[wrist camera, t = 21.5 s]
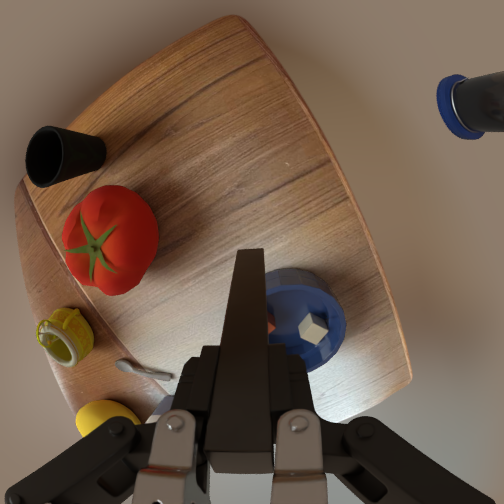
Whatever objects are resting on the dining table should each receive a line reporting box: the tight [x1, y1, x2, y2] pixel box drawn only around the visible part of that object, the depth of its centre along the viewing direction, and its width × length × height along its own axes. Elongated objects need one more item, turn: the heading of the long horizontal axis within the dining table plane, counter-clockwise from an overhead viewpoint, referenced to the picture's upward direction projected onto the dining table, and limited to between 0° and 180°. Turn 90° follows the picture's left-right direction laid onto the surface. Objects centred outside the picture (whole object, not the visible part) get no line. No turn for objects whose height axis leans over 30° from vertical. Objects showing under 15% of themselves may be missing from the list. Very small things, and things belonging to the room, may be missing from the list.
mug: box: [36, 307, 94, 367], centre depth 39 cm, size 13×11×12 cm
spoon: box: [115, 359, 171, 381], centre depth 47 cm, size 3×12×2 cm, turn 77°
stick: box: [203, 248, 274, 474], centre depth 14 cm, size 2×2×16 cm
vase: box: [76, 400, 141, 437], centre depth 45 cm, size 18×18×19 cm
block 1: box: [267, 311, 276, 334], centre depth 41 cm, size 3×3×3 cm
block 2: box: [298, 312, 329, 345], centre depth 41 cm, size 3×3×3 cm
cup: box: [25, 126, 107, 188], centre depth 29 cm, size 8×8×12 cm
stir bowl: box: [265, 269, 346, 373], centre depth 40 cm, size 17×17×6 cm
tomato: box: [62, 185, 159, 296], centre depth 34 cm, size 14×16×10 cm
